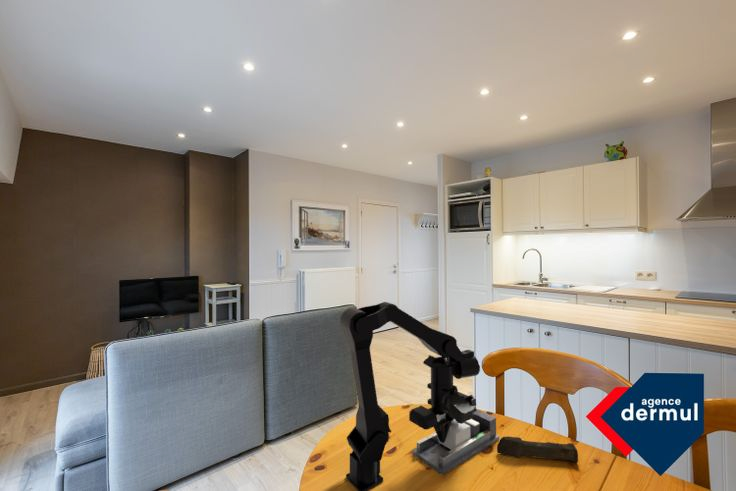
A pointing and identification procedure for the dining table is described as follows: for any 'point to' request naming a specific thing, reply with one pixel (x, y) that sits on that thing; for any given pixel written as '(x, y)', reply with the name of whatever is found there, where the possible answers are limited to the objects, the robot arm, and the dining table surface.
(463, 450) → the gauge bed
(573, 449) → the hand tool
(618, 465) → the dining table surface
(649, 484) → the dining table surface
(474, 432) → the white flat block
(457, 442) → the knobbed white cube
